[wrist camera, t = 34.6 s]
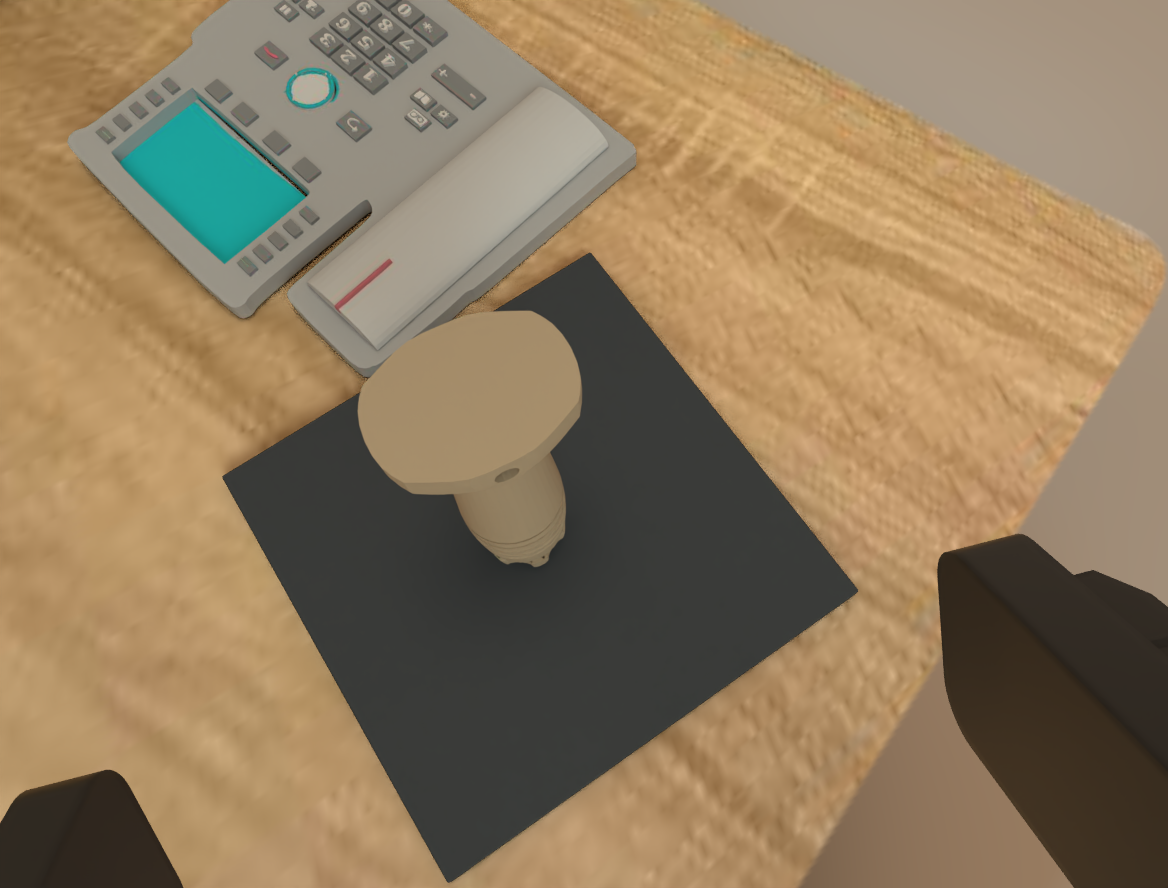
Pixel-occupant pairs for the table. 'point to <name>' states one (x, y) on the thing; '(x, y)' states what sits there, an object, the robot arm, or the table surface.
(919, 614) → the table surface
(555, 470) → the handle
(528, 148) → the office telephone
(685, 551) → the mat
